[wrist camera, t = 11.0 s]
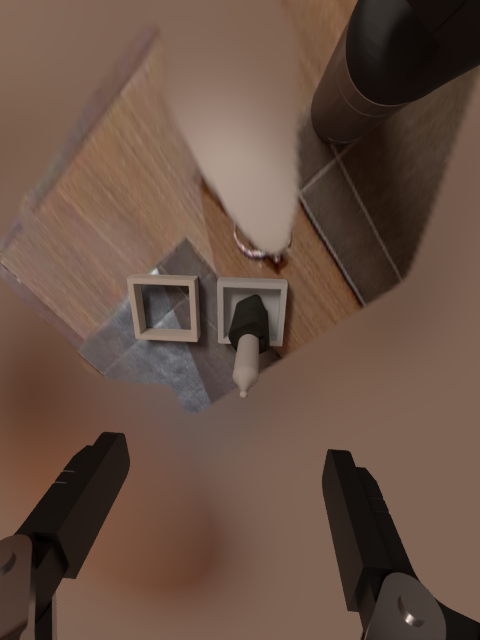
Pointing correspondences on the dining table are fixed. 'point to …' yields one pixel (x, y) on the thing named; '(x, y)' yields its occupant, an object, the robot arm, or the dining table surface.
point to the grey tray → (241, 288)
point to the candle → (248, 340)
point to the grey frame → (139, 315)
